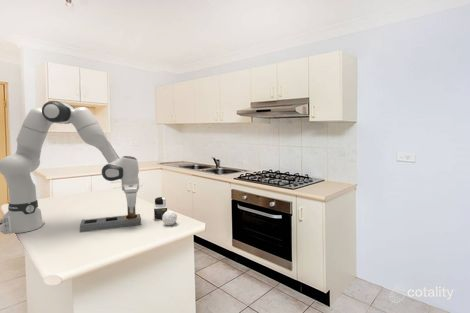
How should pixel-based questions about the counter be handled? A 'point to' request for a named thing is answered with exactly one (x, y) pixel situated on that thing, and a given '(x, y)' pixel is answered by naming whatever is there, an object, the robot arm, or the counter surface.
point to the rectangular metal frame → (109, 223)
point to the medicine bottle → (159, 208)
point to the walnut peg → (131, 215)
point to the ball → (169, 217)
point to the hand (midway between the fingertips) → (131, 211)
